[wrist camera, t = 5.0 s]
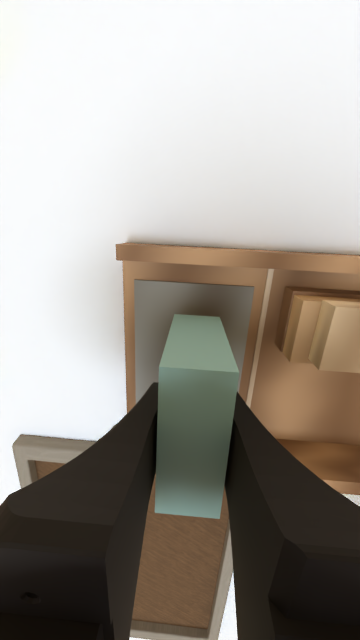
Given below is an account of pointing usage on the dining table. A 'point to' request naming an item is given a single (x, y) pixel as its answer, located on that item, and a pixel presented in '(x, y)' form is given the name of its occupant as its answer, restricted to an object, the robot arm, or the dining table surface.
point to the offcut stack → (321, 328)
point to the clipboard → (158, 554)
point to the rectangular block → (194, 417)
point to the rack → (249, 341)
